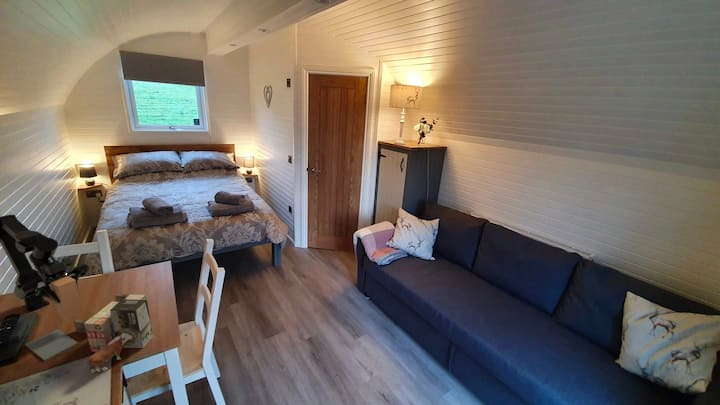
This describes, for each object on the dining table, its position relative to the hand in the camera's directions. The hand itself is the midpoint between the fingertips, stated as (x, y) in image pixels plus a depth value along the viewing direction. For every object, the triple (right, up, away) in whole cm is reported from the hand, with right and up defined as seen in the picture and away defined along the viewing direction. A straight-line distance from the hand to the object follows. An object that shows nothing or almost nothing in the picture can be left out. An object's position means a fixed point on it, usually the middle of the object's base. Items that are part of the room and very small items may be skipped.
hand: (68, 298), depth 112 cm
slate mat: (-3, -15, -3) cm, 16 cm away
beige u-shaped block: (+5, -11, +12) cm, 17 cm away
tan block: (-2, -7, +3) cm, 7 cm away
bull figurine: (+23, -19, -8) cm, 31 cm away
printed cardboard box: (+15, -14, +6) cm, 22 cm away
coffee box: (+24, -16, +1) cm, 29 cm away
